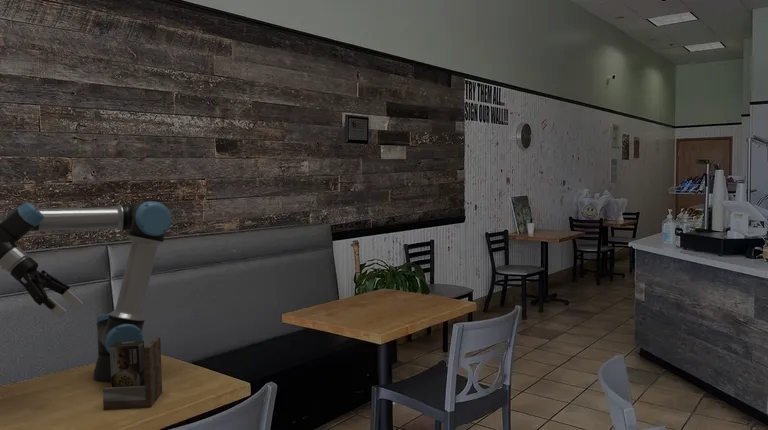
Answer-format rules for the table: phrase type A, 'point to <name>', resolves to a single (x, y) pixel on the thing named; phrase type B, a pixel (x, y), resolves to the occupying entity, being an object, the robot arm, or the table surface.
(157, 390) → the walnut shelf slot
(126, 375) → the coffee box
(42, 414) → the table surface
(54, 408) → the table surface
